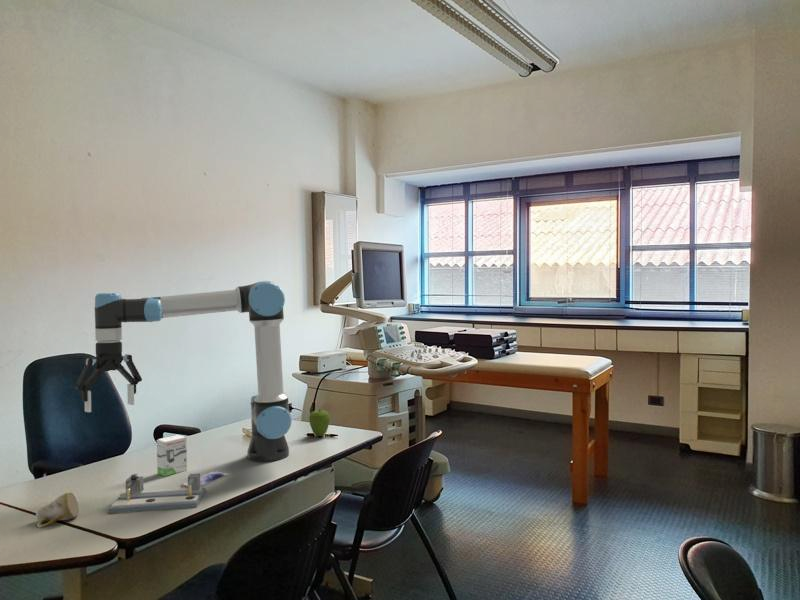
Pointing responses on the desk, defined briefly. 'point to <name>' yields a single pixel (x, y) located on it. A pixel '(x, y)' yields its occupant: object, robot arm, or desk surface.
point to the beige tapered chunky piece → (58, 510)
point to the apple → (319, 422)
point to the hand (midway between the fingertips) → (110, 408)
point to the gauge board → (161, 498)
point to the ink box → (171, 455)
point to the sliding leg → (134, 485)
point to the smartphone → (208, 478)
